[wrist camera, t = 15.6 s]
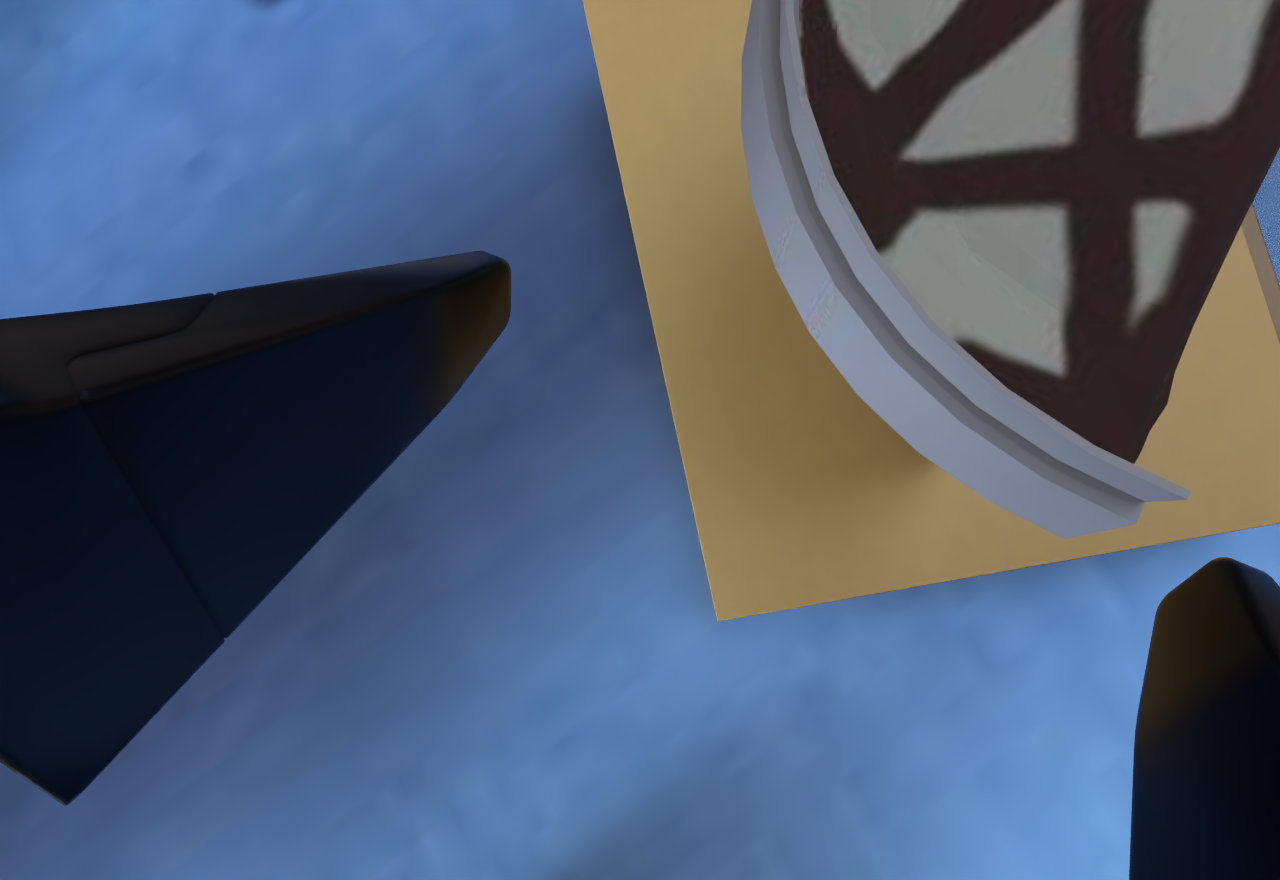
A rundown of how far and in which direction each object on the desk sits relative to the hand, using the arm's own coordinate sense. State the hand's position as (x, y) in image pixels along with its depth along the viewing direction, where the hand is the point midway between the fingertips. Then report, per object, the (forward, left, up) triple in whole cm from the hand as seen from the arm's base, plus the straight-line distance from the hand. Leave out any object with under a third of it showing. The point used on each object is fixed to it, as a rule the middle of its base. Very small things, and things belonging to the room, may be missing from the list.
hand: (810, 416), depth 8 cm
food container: (+5, -4, -8) cm, 10 cm away
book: (+5, -4, -11) cm, 13 cm away
